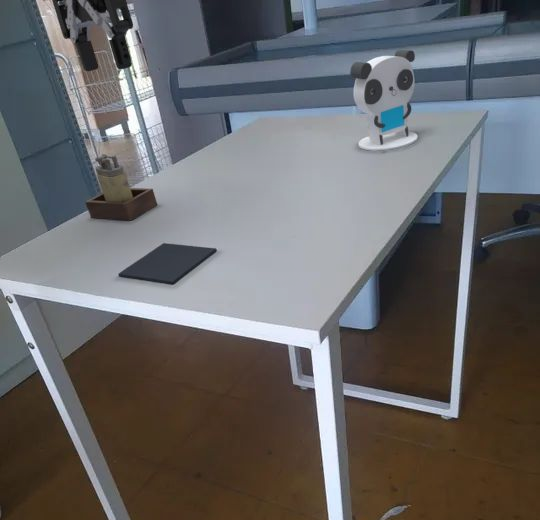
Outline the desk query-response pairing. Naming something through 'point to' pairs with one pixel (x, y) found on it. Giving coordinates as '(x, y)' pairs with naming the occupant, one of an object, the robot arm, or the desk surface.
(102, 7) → the robot arm
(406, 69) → the panda figurine
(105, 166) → the lighter
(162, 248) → the mat
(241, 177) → the desk surface
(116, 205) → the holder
